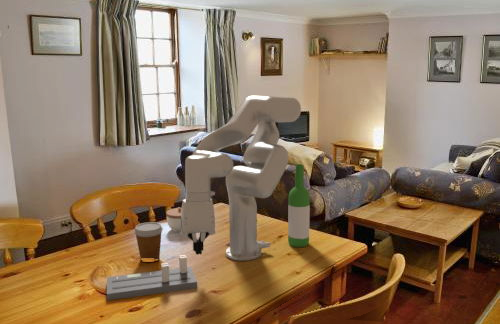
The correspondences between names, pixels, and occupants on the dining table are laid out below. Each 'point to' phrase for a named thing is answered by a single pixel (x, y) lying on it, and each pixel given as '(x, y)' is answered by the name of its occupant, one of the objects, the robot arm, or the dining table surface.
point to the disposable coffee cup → (149, 239)
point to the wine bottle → (298, 211)
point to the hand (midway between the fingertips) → (198, 252)
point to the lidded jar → (174, 219)
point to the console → (149, 283)
